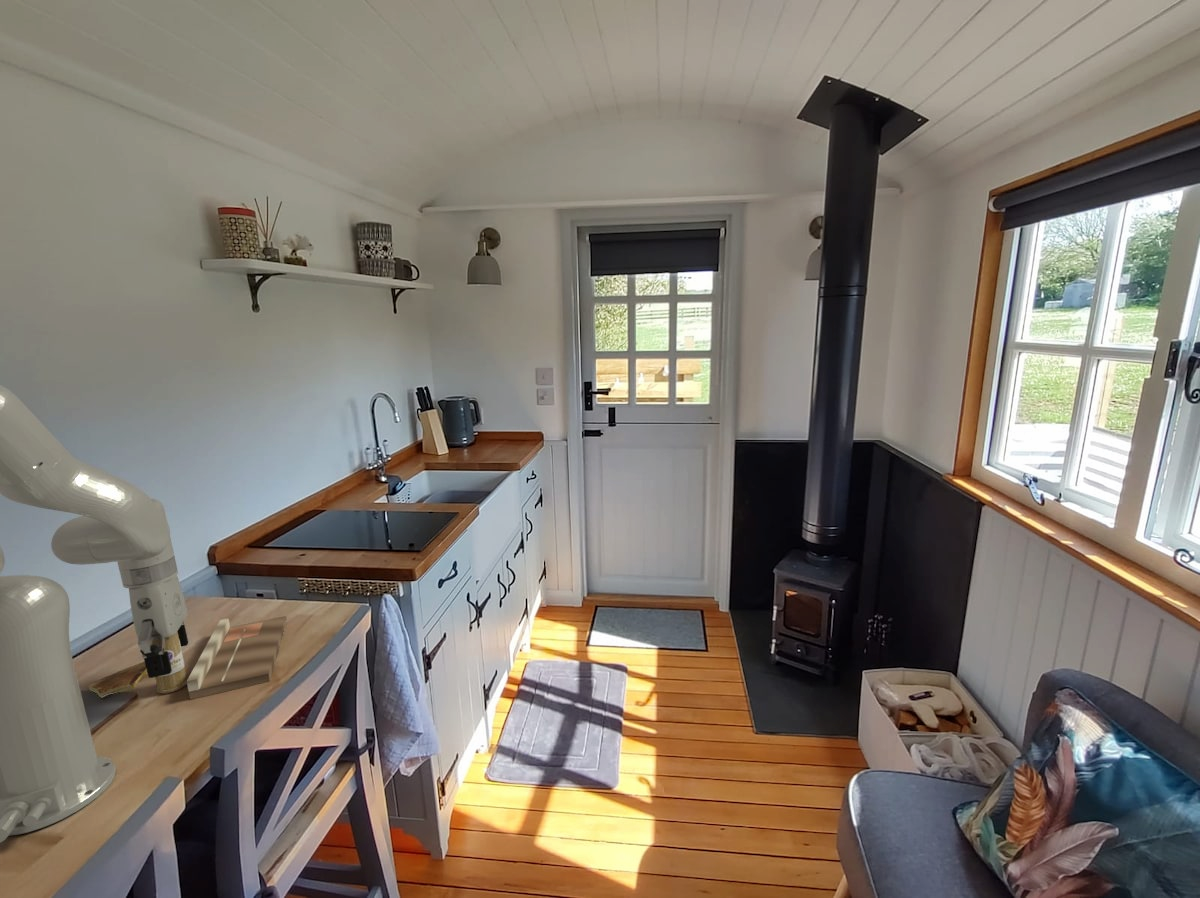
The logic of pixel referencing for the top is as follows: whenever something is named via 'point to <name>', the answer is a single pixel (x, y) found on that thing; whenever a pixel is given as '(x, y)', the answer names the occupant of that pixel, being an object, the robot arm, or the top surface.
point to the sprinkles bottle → (172, 666)
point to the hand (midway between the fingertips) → (169, 660)
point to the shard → (120, 680)
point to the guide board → (237, 657)
